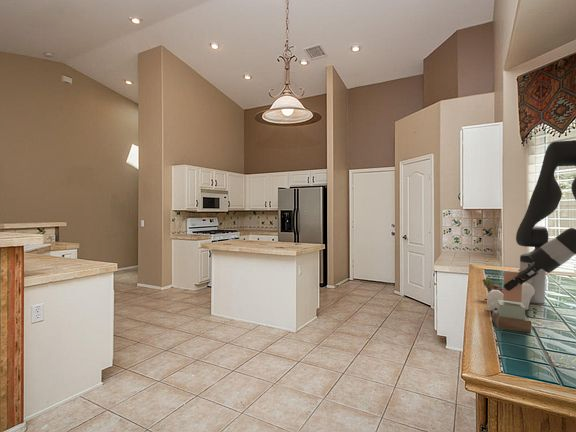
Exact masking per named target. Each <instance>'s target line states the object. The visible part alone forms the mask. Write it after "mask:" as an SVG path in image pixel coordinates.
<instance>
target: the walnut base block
mask: <svg viewBox="0 0 576 432" xmlns="http://www.w3.org/2000/svg"><path fill="white" fill-rule="evenodd" d="M491 312H492V314H491V315H492V319H491V320H492V321H493V324H494V325H495V326H496V327H497V328H498V329H501V330H508V331H515V332H516V331H517V332H527V333H531V332H532V320H531V319H530V318H529V317H527V316H526V315H525V320H521V319H514V318H508V317H501V316H499V314H498V310H497V309H496V310H495V309H494V310H492V311H491Z"/></svg>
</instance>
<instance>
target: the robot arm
mask: <svg viewBox="0 0 576 432" xmlns="http://www.w3.org/2000/svg"><path fill="white" fill-rule="evenodd" d="M544 153H545V154H544V155H543V156H544V157H543V161H542V165H541V169H540V172H539V176H538V179H537V181H536V184H535V186H534V189H533V191H532V194H531V197H530V200H529V203H528V206H527V208H526V212H525V214H524V217H523V218H522V221H520V222H521V223H520V224H519V226H518V229H517V231H516V234H515V242H516V244H517V245H518V246H521V247H528V248H530V247H532V248H534V249H533V250H532V251H529V252H527V253H523V254H521V255H520V256H519V269H517V270H518V271H519V272H518V275H517V276H516V277H514V278H513V279H512V280H511V281H509V282H508V283H506V284H505V285H504V284H503V289H504V288H505V289H506V290H508V291H510V290H511V289H513V288H514V287H515V286H517V285H521V284H523V283H529V284H530V285H532V286H533V288H534V290H535V293H534V295H533V296H532V298H531V299H530V303H531V304H545V302H546V301H545V299H546V276H547V275H546V273H547V274H550V273H552V272H553V271H555V270H556V269H557V268H559V267H561V266H562V265H564V264H565V263H567V262H568V261H570V259H572V257H574V256H575V255H576V228H574V227H569V228H567V229H565V230H564V231H562V232H561V233H560V234H558V235H557V236H555V237H554V238H552V239H550V240H549V231H548V229H547V227H545V226H541V225H540V226H539V225H538V226H537V224H538V223H540V222H541V221H543V220H544V219H545V218H547V217H549V216H550V215H551V214H553V213H554V212H555V211H556V210H557V208H558V206H559V204H560V202H561V199H562V196H563V192H562V189H561V187H560V185H559V183H558V182H557V180H556V179H557V178H555V171H556V170H557V168H559V167H576V139H568V140H554V141H552V142H550V143H549V144H548V146H547V147H546V150H545V152H544ZM570 187H571V192H572V195H573V197H574V199H575V201H576V176H574V179H573V180H572V183H571V186H570ZM519 277H522V280H521V279H520V278H519Z"/></svg>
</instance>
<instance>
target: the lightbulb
mask: <svg viewBox="0 0 576 432" xmlns="http://www.w3.org/2000/svg"><path fill="white" fill-rule="evenodd" d="M534 293H535V290H534V288H533V286H532V285H530V284H529V283H523V284H522V304H523V305H524V307H525V311H527V310H529V305H530V303H531V302H530V299H531V298H532V296H533V295H534Z"/></svg>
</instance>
